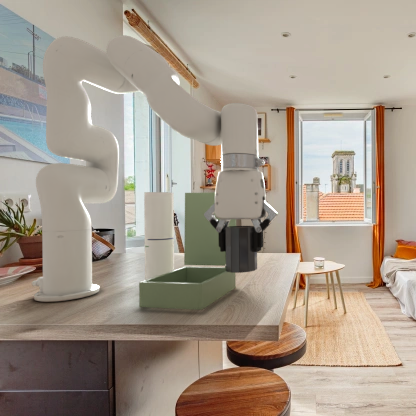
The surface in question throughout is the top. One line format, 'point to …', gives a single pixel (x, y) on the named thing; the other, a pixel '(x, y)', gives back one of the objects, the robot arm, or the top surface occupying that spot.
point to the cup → (239, 249)
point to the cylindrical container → (159, 233)
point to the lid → (201, 232)
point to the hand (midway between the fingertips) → (241, 250)
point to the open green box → (186, 288)
